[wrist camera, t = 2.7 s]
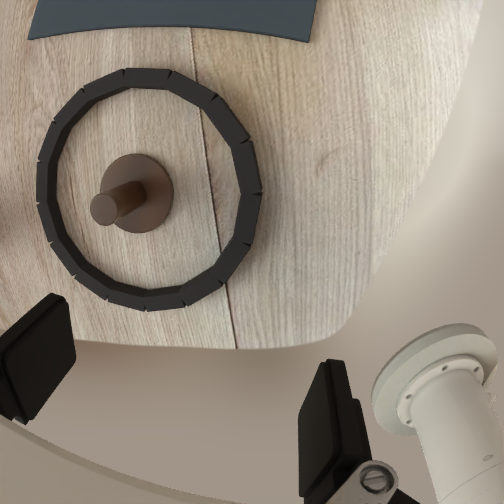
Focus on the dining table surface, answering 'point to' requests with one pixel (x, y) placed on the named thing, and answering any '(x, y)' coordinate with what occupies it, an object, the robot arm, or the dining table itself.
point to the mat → (175, 16)
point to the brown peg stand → (133, 194)
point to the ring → (244, 171)
